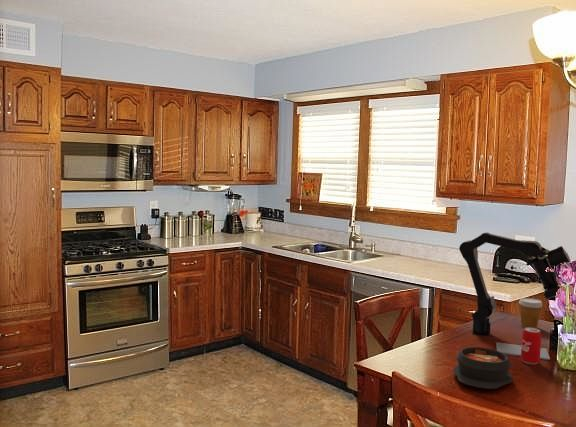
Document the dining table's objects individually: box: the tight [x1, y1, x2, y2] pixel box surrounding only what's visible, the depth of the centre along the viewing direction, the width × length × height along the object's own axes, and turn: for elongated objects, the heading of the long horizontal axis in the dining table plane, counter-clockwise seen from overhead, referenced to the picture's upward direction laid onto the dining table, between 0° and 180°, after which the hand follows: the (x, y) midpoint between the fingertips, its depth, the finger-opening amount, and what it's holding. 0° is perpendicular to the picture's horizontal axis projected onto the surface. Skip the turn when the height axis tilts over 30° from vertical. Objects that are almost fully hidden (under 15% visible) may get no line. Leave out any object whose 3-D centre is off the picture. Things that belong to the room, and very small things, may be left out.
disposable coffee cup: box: [518, 297, 543, 329], centre depth 237 cm, size 10×10×12 cm
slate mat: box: [495, 342, 551, 361], centre depth 204 cm, size 18×12×1 cm, turn 70°
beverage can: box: [520, 327, 542, 365], centre depth 193 cm, size 6×6×12 cm
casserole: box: [452, 346, 514, 390], centre depth 176 cm, size 25×19×8 cm
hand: (563, 307), depth 211 cm, fingers open, 9 cm apart
